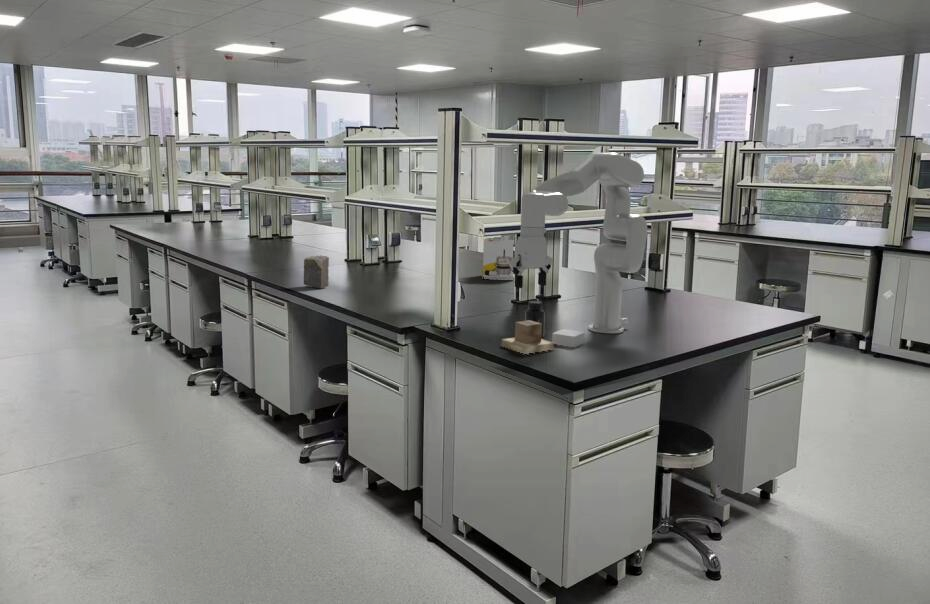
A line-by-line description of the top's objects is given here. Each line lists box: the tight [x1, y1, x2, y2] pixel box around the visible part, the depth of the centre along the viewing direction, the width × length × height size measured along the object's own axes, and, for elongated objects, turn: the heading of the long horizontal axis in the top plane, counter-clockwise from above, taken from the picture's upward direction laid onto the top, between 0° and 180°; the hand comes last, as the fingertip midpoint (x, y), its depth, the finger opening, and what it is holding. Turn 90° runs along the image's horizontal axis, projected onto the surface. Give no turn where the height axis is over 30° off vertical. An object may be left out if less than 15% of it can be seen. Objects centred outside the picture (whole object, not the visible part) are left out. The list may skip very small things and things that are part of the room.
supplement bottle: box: [524, 300, 546, 338], centre depth 244 cm, size 7×7×12 cm
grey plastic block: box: [551, 328, 586, 348], centre depth 235 cm, size 8×8×4 cm
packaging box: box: [482, 236, 514, 278], centre depth 371 cm, size 16×16×25 cm
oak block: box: [501, 336, 555, 355], centre depth 228 cm, size 12×12×3 cm
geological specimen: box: [303, 255, 330, 289], centre depth 330 cm, size 11×6×15 cm, turn 61°
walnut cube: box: [514, 320, 542, 344], centre depth 227 cm, size 6×6×6 cm
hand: (530, 286), depth 224 cm, fingers open, 9 cm apart
